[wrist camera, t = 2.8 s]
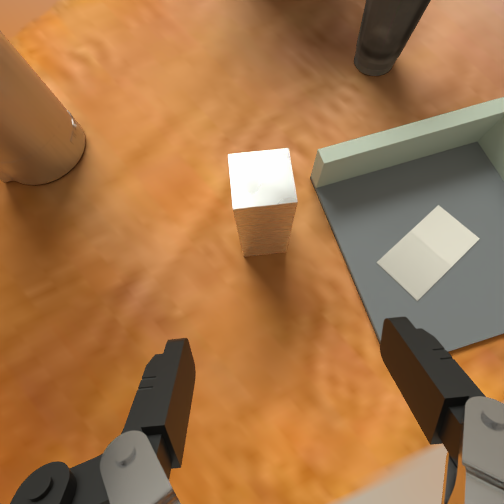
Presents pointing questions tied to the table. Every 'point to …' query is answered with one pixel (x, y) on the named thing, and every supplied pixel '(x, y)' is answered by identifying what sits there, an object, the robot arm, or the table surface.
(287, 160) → the bracket
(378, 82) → the table surface
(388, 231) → the mat
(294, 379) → the table surface
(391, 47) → the beverage cup
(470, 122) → the corner walls
